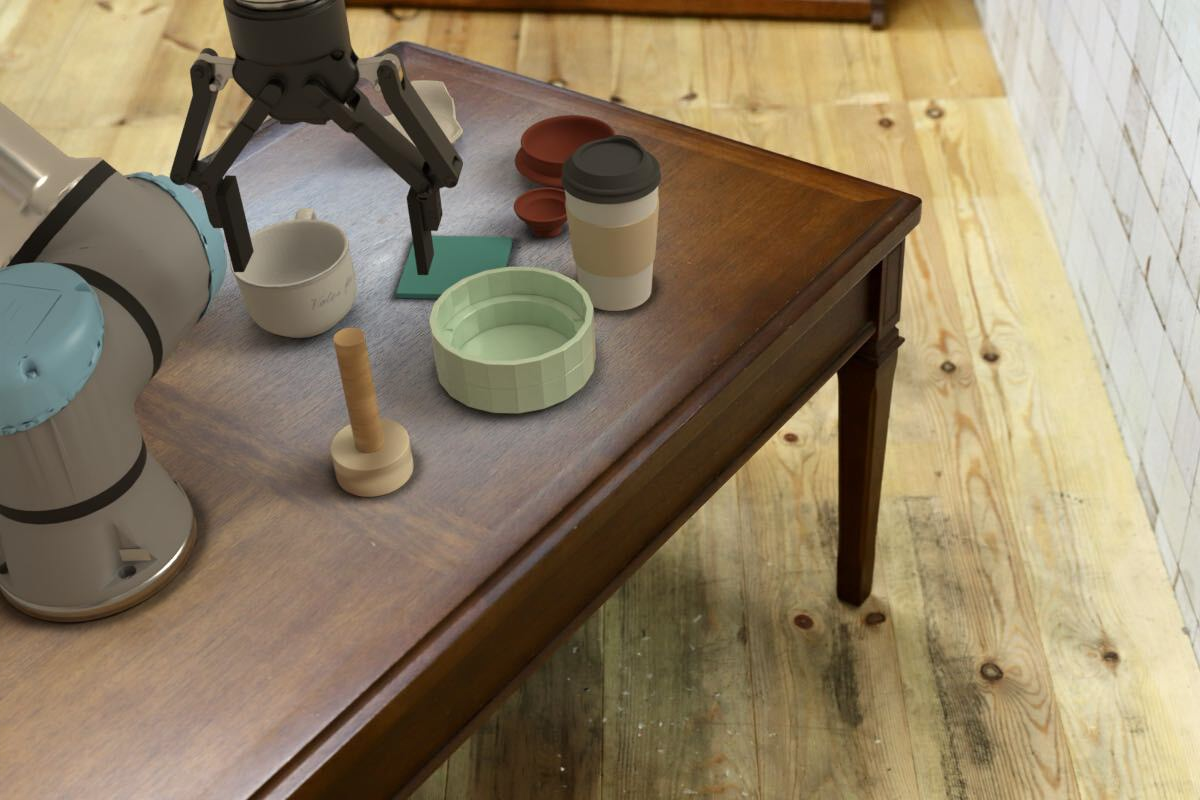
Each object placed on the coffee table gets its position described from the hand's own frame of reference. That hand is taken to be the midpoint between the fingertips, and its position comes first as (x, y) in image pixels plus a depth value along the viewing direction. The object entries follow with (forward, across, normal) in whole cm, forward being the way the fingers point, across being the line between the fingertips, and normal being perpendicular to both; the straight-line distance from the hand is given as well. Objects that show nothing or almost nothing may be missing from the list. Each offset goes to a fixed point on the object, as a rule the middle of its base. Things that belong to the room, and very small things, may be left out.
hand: (334, 263), depth 101 cm
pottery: (+21, +12, +43) cm, 49 cm away
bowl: (+21, +10, +14) cm, 27 cm away
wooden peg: (+21, 0, 0) cm, 21 cm away
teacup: (+21, -11, +22) cm, 32 cm away
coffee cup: (+21, +18, +26) cm, 38 cm away
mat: (+21, +2, +29) cm, 35 cm away
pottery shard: (+21, -5, +53) cm, 57 cm away
